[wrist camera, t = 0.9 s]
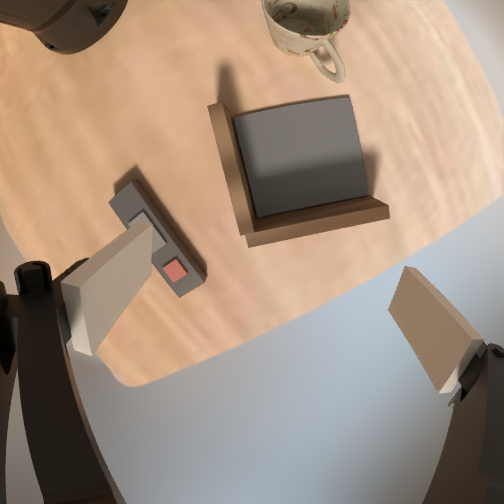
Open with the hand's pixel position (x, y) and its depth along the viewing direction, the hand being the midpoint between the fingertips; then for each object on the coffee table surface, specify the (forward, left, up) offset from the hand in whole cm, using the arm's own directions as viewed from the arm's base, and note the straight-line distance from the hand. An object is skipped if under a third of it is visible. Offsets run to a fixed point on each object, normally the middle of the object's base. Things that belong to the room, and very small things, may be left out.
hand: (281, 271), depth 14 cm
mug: (-17, +9, -23) cm, 30 cm away
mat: (-4, +5, -22) cm, 23 cm away
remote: (+2, -15, -22) cm, 27 cm away
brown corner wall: (-4, +4, -22) cm, 23 cm away
